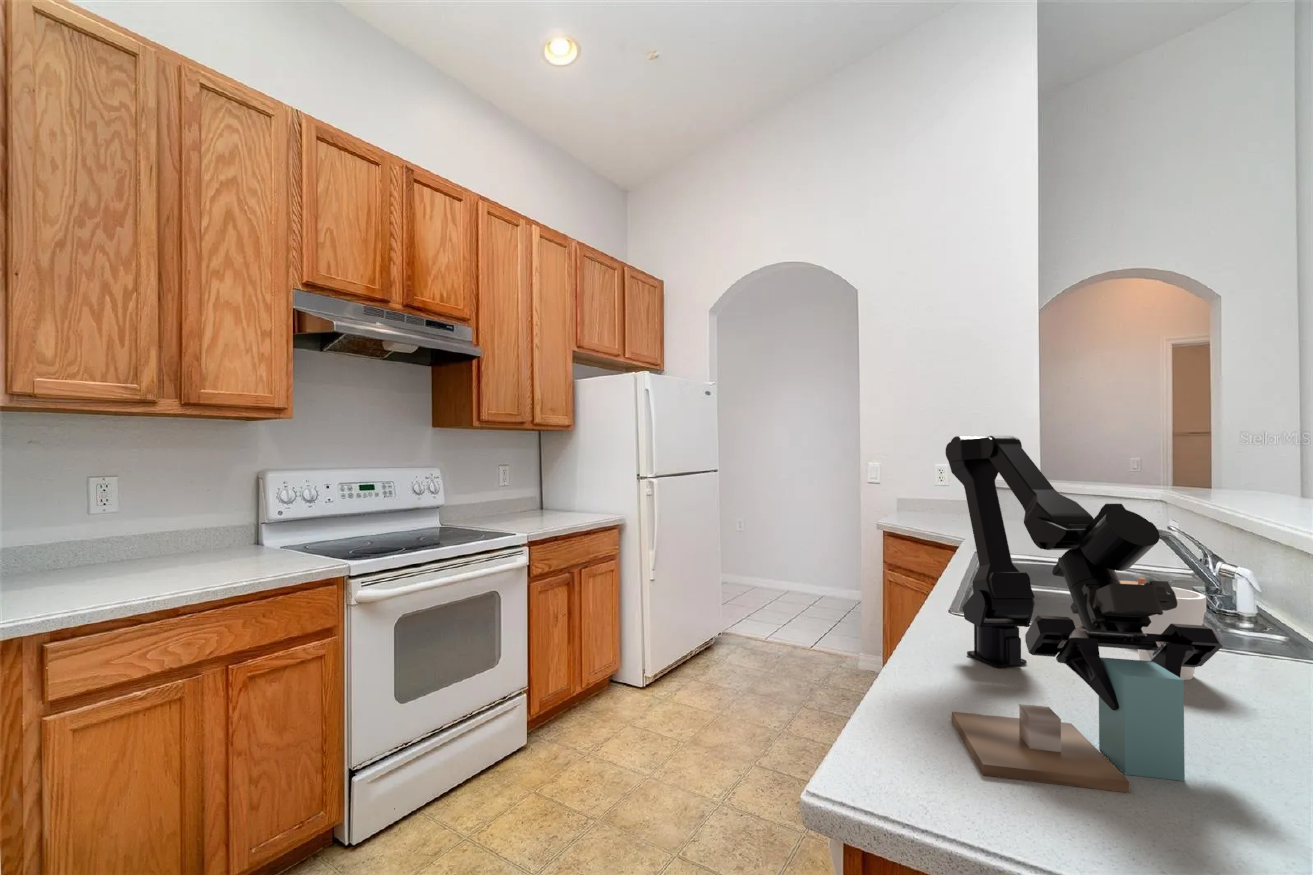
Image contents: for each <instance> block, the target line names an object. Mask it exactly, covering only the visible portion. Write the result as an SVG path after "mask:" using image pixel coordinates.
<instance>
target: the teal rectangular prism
mask: <svg viewBox="0 0 1313 875" xmlns="http://www.w3.org/2000/svg"><path fill="white" fill-rule="evenodd" d="M1100 659H1101V662H1102V664H1103V666H1104V668H1105V671H1106V673H1107V675H1108V678H1109V680H1110V682H1111V684H1112V687H1113V689H1114V691H1115V694H1116V697H1117V701H1118V704H1119V708H1118V709H1117V710H1112V709H1111V708H1110V707H1109V706H1108V705H1107V704H1106V703H1105V702H1104V701H1103V700H1102V699H1101V698H1100V697H1099V696H1098V744H1099V745H1098V748H1099V749H1098V750H1100V752H1101V753H1102V754H1104V755H1105V757H1106V758H1107V759H1109V761H1111V763H1112V764H1113V765H1114V766H1115V767H1116V768H1118V770H1119V771H1120V772H1122V774H1124V775H1129V776H1136V777H1137V776H1138V777H1145V778H1153V779H1154V778H1155V779H1161V780H1162V779H1165V780H1173V781H1182V782H1185V781H1186V780H1185V774H1186V773H1185V772H1186V771H1185V769H1186V768H1185V766H1186V764H1185V699H1184V698H1185V687H1184V686H1185V685H1184V682H1185V680H1183V679H1181V678H1179V677H1178V676H1176V675H1174V674H1173V673H1171V672H1169V671H1168V670H1166V669H1165V668H1163V667H1161V666H1160V665H1158V664H1156V663H1155V662H1153V661H1142V660H1140V659H1129V658H1128V659H1127V658H1113V657H1112V658H1111V657H1101V656H1100Z"/></svg>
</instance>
